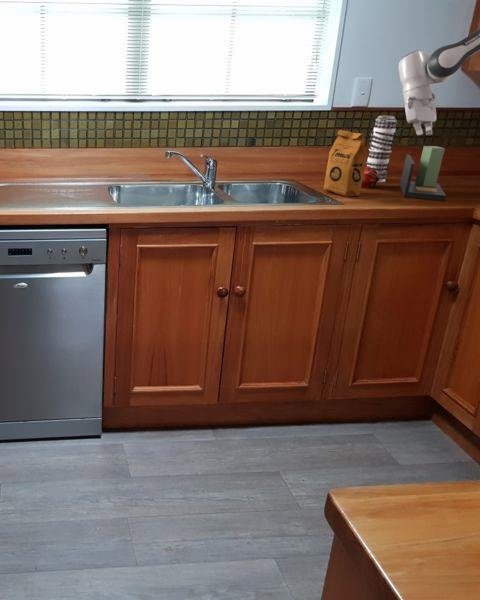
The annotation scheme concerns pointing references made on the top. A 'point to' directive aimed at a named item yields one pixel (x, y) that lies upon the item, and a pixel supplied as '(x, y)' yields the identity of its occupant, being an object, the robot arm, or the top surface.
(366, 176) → the dragon fruit
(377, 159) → the decorative candle
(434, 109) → the robot arm
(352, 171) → the coffee package
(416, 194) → the grey l-shaped bracket
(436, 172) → the carton
